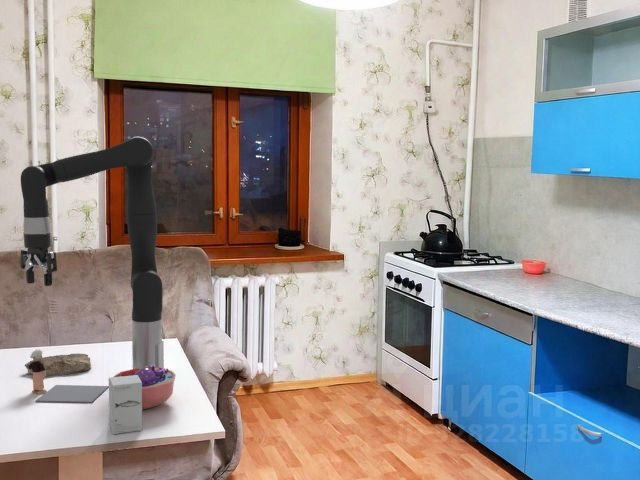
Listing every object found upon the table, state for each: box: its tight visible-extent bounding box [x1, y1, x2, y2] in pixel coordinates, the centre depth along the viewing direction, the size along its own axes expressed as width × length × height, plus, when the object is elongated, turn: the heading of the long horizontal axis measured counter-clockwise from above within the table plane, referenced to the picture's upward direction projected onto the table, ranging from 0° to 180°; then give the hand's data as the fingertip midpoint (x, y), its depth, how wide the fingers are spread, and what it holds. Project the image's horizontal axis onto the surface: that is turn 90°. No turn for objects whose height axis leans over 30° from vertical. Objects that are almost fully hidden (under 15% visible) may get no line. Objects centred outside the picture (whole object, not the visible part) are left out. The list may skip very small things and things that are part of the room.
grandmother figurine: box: [27, 348, 48, 395], centre depth 196 cm, size 8×4×13 cm, turn 71°
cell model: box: [113, 365, 176, 410], centre depth 186 cm, size 17×20×11 cm
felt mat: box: [35, 384, 109, 404], centre depth 195 cm, size 16×14×1 cm
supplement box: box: [108, 375, 143, 435], centre depth 169 cm, size 7×7×13 cm
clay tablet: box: [24, 352, 92, 377], centre depth 218 cm, size 14×5×20 cm
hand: (39, 284), depth 206 cm, fingers open, 8 cm apart
